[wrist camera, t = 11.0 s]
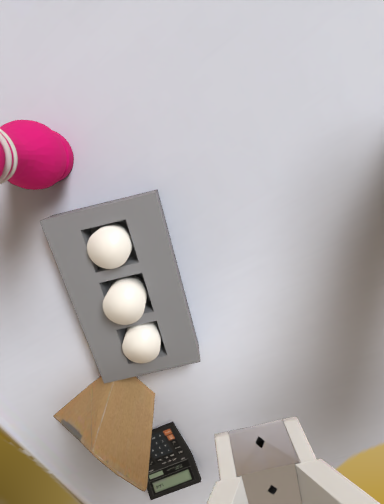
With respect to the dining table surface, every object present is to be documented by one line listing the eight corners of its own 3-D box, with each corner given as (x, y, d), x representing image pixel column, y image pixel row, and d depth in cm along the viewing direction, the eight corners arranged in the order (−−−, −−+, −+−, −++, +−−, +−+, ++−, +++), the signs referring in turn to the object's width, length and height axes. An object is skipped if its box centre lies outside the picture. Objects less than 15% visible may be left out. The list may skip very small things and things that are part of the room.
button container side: (156, 311, 43) (154, 327, 39) (165, 340, 44) (164, 358, 40) (123, 319, 43) (117, 335, 39) (133, 348, 44) (128, 366, 40)
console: (157, 189, 38) (155, 192, 35) (198, 344, 45) (200, 361, 42) (49, 215, 39) (35, 222, 35) (106, 365, 46) (100, 384, 42)
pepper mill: (6, 161, 37) (-180, 163, 18) (36, 111, 35) (-133, 52, 16) (58, 197, 38) (-61, 235, 19) (89, 151, 37) (-8, 140, 18)
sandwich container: (51, 415, 48) (-3, 521, 34) (118, 360, 46) (90, 451, 32) (90, 444, 51) (55, 556, 36) (156, 393, 48) (147, 492, 34)
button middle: (142, 270, 39) (137, 283, 35) (152, 304, 41) (149, 319, 37) (105, 279, 39) (97, 292, 35) (116, 312, 41) (110, 328, 37)
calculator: (172, 420, 50) (172, 435, 47) (200, 466, 53) (201, 483, 50) (123, 439, 51) (119, 456, 48) (153, 483, 54) (151, 501, 51)
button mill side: (128, 217, 38) (122, 224, 34) (139, 253, 40) (134, 263, 36) (91, 226, 39) (81, 234, 35) (103, 261, 40) (94, 273, 36)
